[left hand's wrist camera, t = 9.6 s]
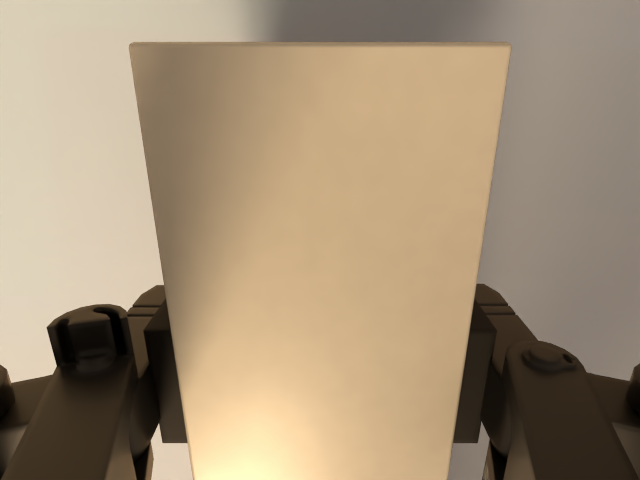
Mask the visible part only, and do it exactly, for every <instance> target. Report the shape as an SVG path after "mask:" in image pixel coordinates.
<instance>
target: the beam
mask: <svg viewBox="0 0 640 480" xmlns="http://www.w3.org/2000/svg"><path fill="white" fill-rule="evenodd" d="M129 52H130V58H131V65H132V72H133V78H134V85H135V92H136V99H137V105H138V112H139V119H140V126H141V132H142V139H143V146H144V152H145V159H146V166H147V173H148V179H149V186H150V193H151V199H152V206H153V213H154V220H155V226H156V233H157V240H158V247H159V253H160V260H161V267H162V273H163V280H164V287H165V294H166V300H167V307H168V314H169V320H170V327H171V334H172V341H173V347H174V354H175V361H176V368H177V374H178V381H179V388H180V394H181V401H182V408H183V415H184V421H185V428H186V435H187V442H188V448H189V455H190V462H191V468H192V475H193V480H447V479H448V472H449V465H450V458H451V452H452V445H453V438H454V431H455V425H456V418H457V411H458V405H459V398H460V391H461V384H462V378H463V371H464V364H465V357H466V351H467V344H468V337H469V330H470V324H471V317H472V310H473V303H474V297H475V290H476V283H477V276H478V270H479V263H480V256H481V249H482V243H483V236H484V229H485V222H486V216H487V209H488V202H489V196H490V189H491V182H492V175H493V169H494V162H495V155H496V148H497V142H498V135H499V128H500V121H501V115H502V108H503V101H504V94H505V88H506V81H507V74H508V67H509V61H510V54H511V44H509V43H507V42H133V43H131V44H130V45H129Z"/></svg>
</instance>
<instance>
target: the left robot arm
mask: <svg viewBox="0 0 640 480" xmlns="http://www.w3.org/2000/svg"><path fill="white" fill-rule="evenodd" d="M47 330H48V334H49V338H50V342H51V345H52V349H53V353H54V357H55V360H56V364H57V367H56V369H55V371H54V373H53V375H49V376H45V377H40V378H35V379H30V380H25V381H20V382H14V383H11V381H10V378H9V375H8V372H7V369H5V368H4V367H3V366H1V365H0V480H151V476H152V468H153V460H154V459H153V452H152V446H151V439H152V437H153V434H154V432H155V430H156V428H157V426H158V424H159V425H160V431H161V436H162V442H163V443H188V442H187V435H186V428H185V421H184V415H183V408H182V401H181V394H180V388H179V381H178V374H177V368H176V361H175V354H174V347H173V341H172V334H171V327H170V320H169V314H168V307H167V300H166V294H165V287H164V285H156V286H155V287H153V288H151V289H150V290H148V291H147V292H145V293H143V294H142V295H141V296H140V297H139V298H138V299H137V301H136V302H135V303H134V304H133V307H132V308H130V309H129V310H128V312H126V310H124V309H123V308H122V307H120V306H116V305H111V304H98V305H91V306H86V307H81V308H78V309H75V310H73V311H70V312H67V313H65V314H63V315H62V316H60V317H58V318H56V319H55V320H53V321H52V322H51V324H50V325H49V326H48V327H47ZM481 421H482V423H483V425H484V427H485V429H486V432H487V434H488V436H489V438H490V440H489V446H488V451H487V457H486V462H485V467H484V473H483V478H482V480H640V364H638V365H637V366H636V367H634V370H633V373H632V376H631V379H630V381H625V380H620V379H615V378H610V377H605V376H600V375H595V374H591V373H587V372H586V370H585V368H584V366H583V365H582V364H581V362H580V361H579V360H578V359H577V358H576V357H575V356H574V355H572V354H571V353H569V352H568V351H566V350H565V349H563V348H560V347H558V346H556V345H553V344H551V343H546V342H542V341H538V340H537V339H536V337H535V336H534V335H533V334H532V332H531V331H530V330H529V329H528V328H527V326H526V325H525V324H524V323H523V322H522V320H521V319H520V318H519V317H518V315H515V312H514V311H513V309H512V308H511V307H510V306H508V303H507V302H506V301H505V300H504V299H503V297H502V296H501V295H500V294H499V293H498V292H496V291H495V290H493V289H491V288H490V287H488V286H486V285H485V284H476V290H475V297H474V303H473V310H472V317H471V324H470V330H469V337H468V344H467V351H466V357H465V364H464V371H463V378H462V384H461V391H460V398H459V405H458V411H457V418H456V425H455V431H454V438H453V443H478V438H479V432H480V427H481Z"/></svg>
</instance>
